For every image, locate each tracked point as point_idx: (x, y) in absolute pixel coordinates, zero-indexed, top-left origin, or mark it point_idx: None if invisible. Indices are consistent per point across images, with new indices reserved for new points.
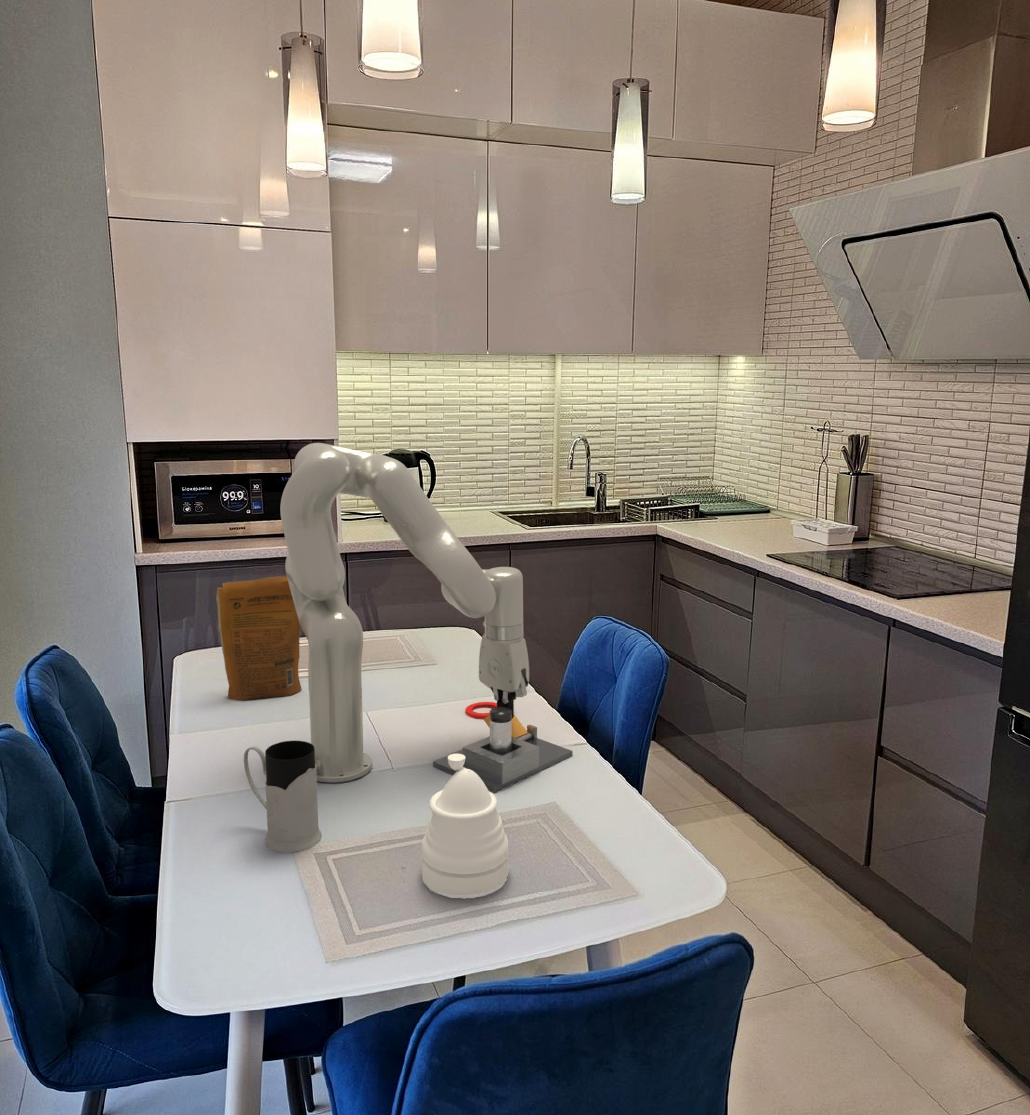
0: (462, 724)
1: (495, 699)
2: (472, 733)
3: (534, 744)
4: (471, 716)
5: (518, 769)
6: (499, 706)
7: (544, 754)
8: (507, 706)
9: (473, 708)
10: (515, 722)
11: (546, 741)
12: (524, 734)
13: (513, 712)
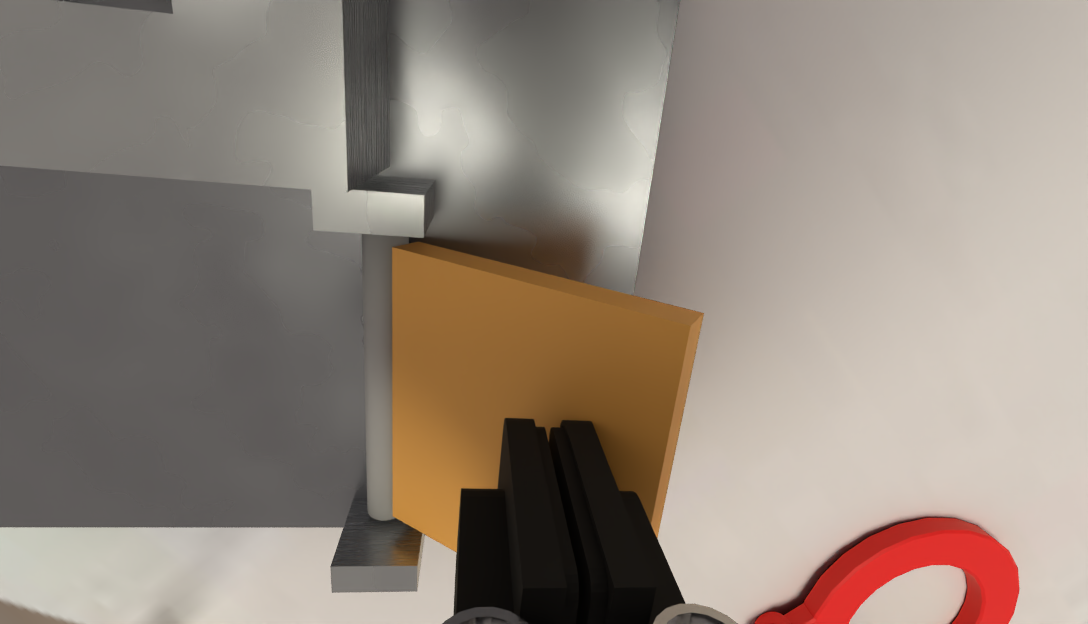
0: (934, 412)
1: (710, 618)
2: (807, 350)
3: (287, 441)
4: (936, 520)
5: None
6: (589, 538)
7: (80, 356)
8: (466, 592)
9: (975, 597)
10: None
11: (265, 526)
12: (398, 481)
13: (455, 583)
